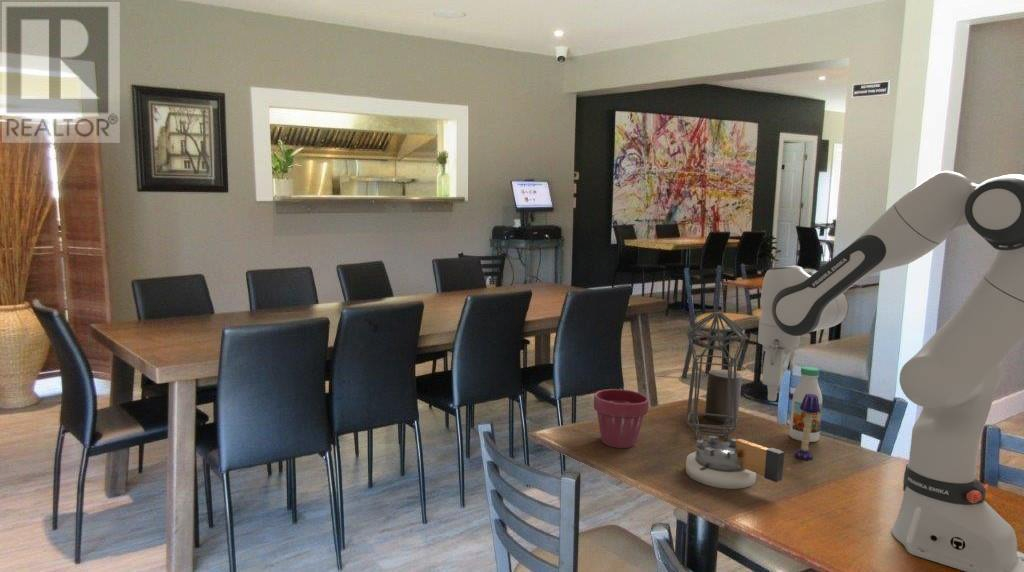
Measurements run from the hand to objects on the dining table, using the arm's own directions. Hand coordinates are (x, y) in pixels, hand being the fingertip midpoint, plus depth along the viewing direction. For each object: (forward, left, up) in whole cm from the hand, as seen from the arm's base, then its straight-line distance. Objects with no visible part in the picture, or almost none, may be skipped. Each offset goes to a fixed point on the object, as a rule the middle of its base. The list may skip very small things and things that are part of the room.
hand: (773, 396), depth 159 cm
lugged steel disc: (+5, +4, -18) cm, 19 cm away
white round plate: (+10, +4, -21) cm, 24 cm away
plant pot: (+39, +8, -21) cm, 45 cm away
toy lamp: (+4, -24, -21) cm, 32 cm away
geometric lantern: (+28, -17, -21) cm, 39 cm away
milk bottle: (+12, -38, -21) cm, 45 cm away
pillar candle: (+36, -34, -21) cm, 53 cm away
